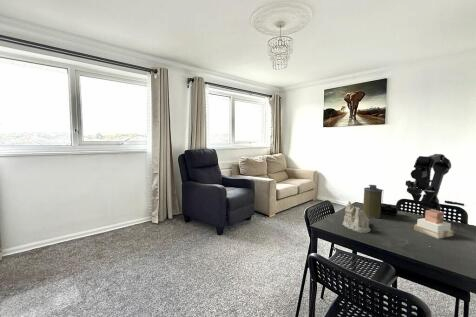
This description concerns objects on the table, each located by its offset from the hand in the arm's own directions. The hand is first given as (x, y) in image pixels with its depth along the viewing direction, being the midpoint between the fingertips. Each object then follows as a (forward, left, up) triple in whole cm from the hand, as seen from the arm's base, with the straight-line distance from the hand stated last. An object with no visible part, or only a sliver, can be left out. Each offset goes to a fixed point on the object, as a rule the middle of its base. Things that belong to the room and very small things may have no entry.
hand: (421, 203), depth 138 cm
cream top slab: (+7, +11, -9) cm, 16 cm away
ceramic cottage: (+38, -8, -12) cm, 41 cm away
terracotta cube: (+7, +11, -6) cm, 14 cm away
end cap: (+3, -18, -12) cm, 22 cm away
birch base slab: (+6, +11, -13) cm, 18 cm away
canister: (+15, -20, -12) cm, 28 cm away
